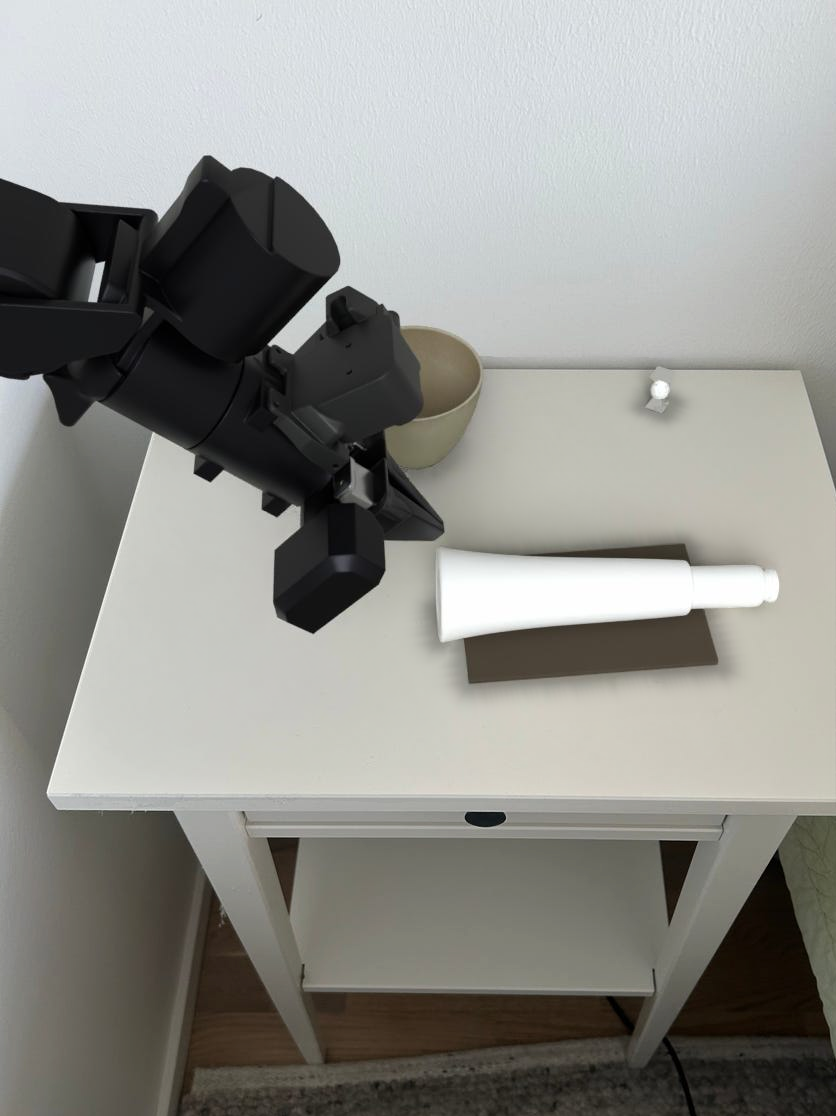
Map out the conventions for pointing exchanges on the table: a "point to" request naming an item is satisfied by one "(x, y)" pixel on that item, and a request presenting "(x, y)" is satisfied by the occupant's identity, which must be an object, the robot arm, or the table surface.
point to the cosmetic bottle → (581, 590)
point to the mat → (595, 638)
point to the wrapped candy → (660, 389)
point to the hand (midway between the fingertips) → (439, 532)
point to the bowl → (437, 397)
